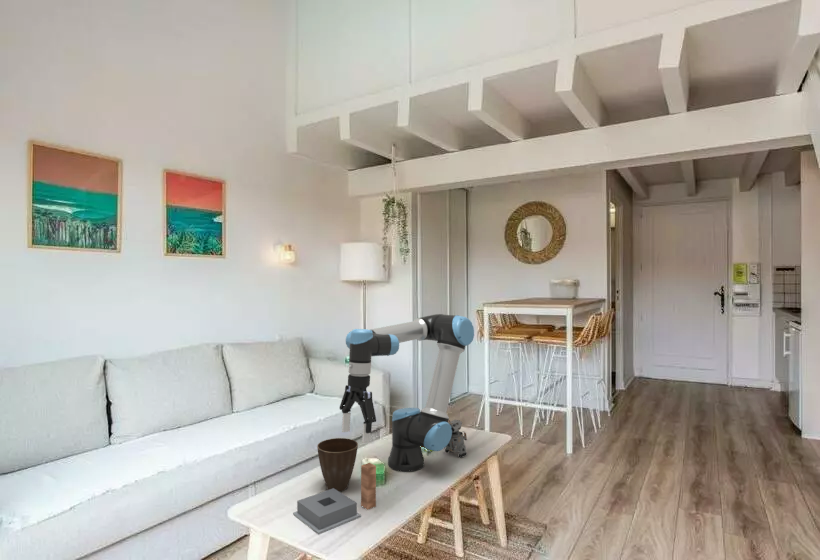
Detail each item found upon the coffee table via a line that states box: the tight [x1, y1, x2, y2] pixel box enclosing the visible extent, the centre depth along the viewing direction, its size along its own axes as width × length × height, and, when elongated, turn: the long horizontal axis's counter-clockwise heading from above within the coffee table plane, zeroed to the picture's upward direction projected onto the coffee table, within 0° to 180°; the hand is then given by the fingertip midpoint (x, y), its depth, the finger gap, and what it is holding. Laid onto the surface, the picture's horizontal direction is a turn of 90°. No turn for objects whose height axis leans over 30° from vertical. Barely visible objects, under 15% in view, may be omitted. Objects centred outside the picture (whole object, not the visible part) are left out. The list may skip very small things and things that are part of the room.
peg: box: [360, 462, 377, 511], centre depth 163 cm, size 4×4×14 cm
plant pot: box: [316, 437, 359, 492], centre depth 177 cm, size 15×15×16 cm
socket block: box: [292, 488, 362, 535], centre depth 157 cm, size 16×16×5 cm
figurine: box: [444, 419, 468, 459], centre depth 209 cm, size 9×12×15 cm
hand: (355, 436), depth 163 cm, fingers open, 13 cm apart
